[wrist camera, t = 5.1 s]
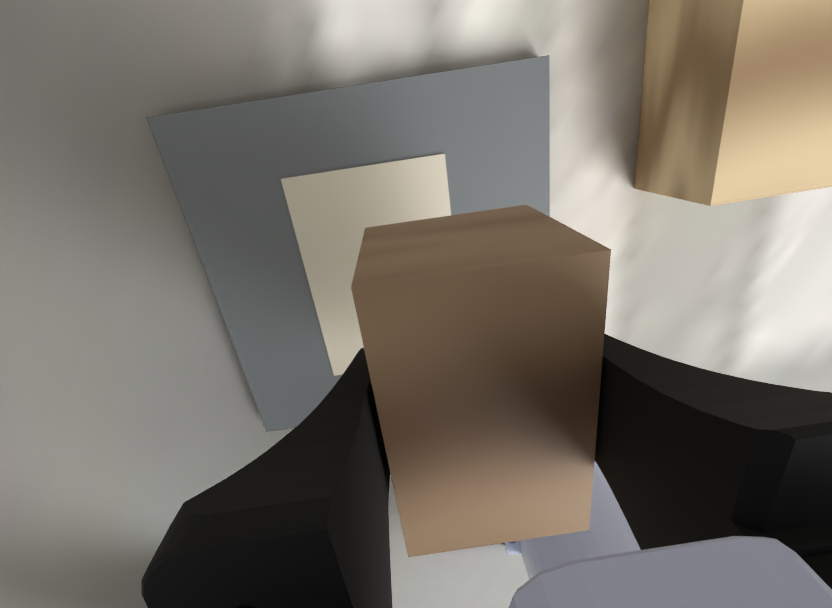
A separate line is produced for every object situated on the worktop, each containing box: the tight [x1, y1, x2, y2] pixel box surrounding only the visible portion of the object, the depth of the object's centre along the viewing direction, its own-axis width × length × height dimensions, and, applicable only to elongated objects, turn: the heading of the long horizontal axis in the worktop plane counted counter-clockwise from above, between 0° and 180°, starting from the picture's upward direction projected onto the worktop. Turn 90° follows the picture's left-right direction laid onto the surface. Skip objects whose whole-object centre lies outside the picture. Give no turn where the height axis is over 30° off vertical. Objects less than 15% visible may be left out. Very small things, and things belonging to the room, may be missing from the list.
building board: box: [147, 55, 549, 432], centre depth 19 cm, size 16×16×1 cm
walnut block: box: [351, 205, 611, 557], centre depth 11 cm, size 8×5×5 cm, turn 7°
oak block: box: [634, 0, 832, 206], centre depth 15 cm, size 8×5×5 cm, turn 8°
